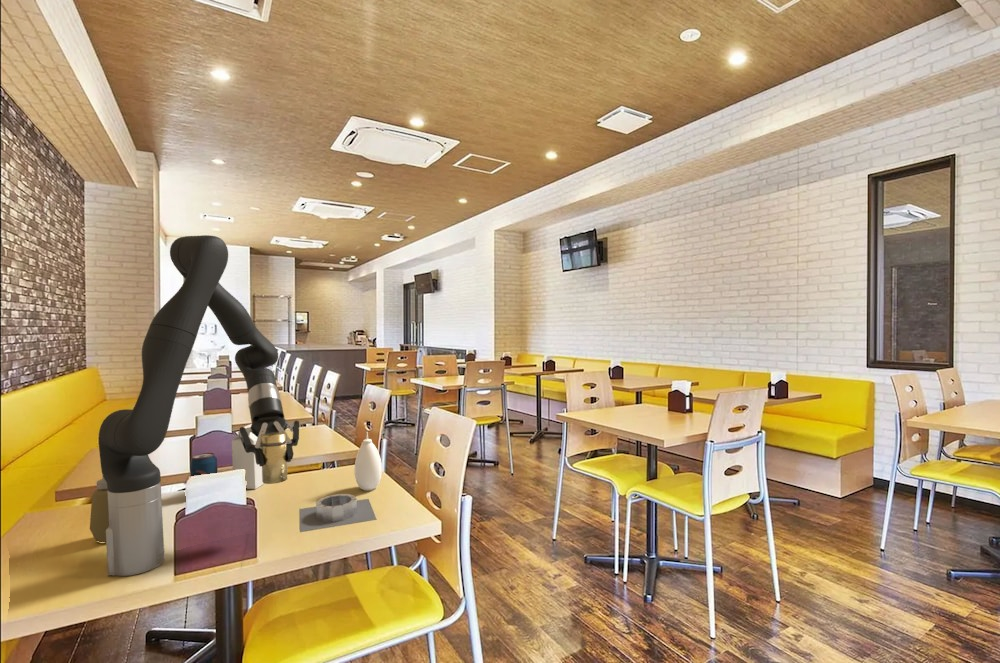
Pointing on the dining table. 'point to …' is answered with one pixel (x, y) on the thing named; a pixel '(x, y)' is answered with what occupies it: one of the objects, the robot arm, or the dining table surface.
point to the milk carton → (247, 461)
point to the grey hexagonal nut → (336, 507)
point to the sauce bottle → (368, 466)
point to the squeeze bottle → (99, 511)
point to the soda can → (203, 464)
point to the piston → (274, 457)
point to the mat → (312, 523)
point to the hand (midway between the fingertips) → (275, 462)
